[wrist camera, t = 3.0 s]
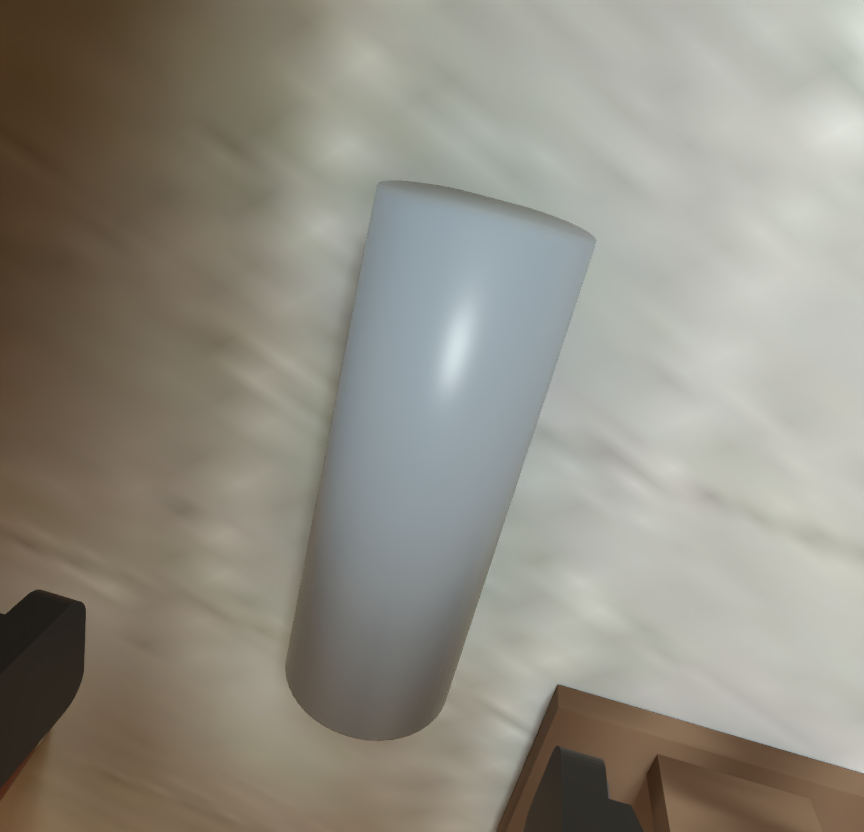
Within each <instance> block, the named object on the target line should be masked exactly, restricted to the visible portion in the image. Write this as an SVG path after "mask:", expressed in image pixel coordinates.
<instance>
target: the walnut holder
mask: <svg viewBox="0 0 864 832" xmlns="http://www.w3.org/2000/svg"><path fill="white" fill-rule="evenodd" d="M556 746H560V747H564V748H567V749H571V750H574V751H577V752H581V753H584V754H587V755H591V756H594V757H597V758H601V759H603V760H604V763H605V767H606V776H607V789H608V799H612V800H615V801H618V802H622V803H625V804H628V805H631V806H632V808H633V810H634V812H635V814H636V816H637V819H638V821H639V823H640V825H641V827H642V829H643V831H644V832H864V774H863V773H859V772H856V771H852V770H849V769H845V768H842V767H839V766H835V765H832V764H828V763H825V762H821V761H818V760H815V759H811V758H808V757H804V756H801V755H798V754H794V753H791V752H787V751H784V750H780V749H777V748H774V747H770V746H767V745H763V744H760V743H757V742H753V741H750V740H746V739H743V738H739V737H736V736H733V735H729V734H726V733H722V732H719V731H715V730H712V729H709V728H705V727H702V726H698V725H695V724H692V723H688V722H685V721H681V720H678V719H674V718H671V717H668V716H664V715H661V714H657V713H654V712H651V711H647V710H644V709H640V708H637V707H633V706H630V705H627V704H623V703H620V702H616V701H613V700H609V699H606V698H603V697H599V696H596V695H592V694H589V693H586V692H582V691H579V690H575V689H572V688H568V687H565V686H562V685H558V686H557V688H556V691H555V693H554V696H553V698H552V700H551V703H550V705H549V708H548V710H547V712H546V715H545V717H544V720H543V722H542V724H541V727H540V729H539V732H538V734H537V737H536V739H535V741H534V744H533V746H532V749H531V751H530V753H529V756H528V758H527V761H526V763H525V765H524V768H523V770H522V773H521V775H520V777H519V780H518V782H517V785H516V787H515V789H514V792H513V794H512V797H511V799H510V802H509V804H508V806H507V809H506V811H505V814H504V816H503V818H502V821H501V823H500V826H499V828H498V830H497V832H524V827H525V822H526V818H527V814H528V811H529V808H530V805H531V803H532V801H533V798H534V796H535V793H536V791H537V788H538V786H539V784H540V781H541V779H542V776H543V774H544V771H545V769H546V766H547V764H548V762H549V759H550V757H551V754H552V752H553V750H554V748H555V747H556Z"/></svg>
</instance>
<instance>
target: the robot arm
mask: <svg viewBox="0 0 864 832" xmlns="http://www.w3.org/2000/svg"><path fill="white" fill-rule="evenodd" d="M85 621H86V609H85V605H84V604H83V603H82V602H80V601H77V600H73V599H70V598H67V597H63V596H60V595H57V594H53V593H50V592H46V591H43V590H35V591H33V592H31V593H29V594H28V595H27V596H26V597H24V598H23V599H22V600H21V601H20V602H19V603H18V604H17V605H16V606H14V607H13V608H12V609H11V610H10V611H9V612H8V613H7V614H5V615H4V614H1V613H0V789H1V788H2V786H3V785H4V784H5V783H6V782H7V780H8V779H9V778H10V777H11V776H12V774H13V773H14V772H15V771H16V770H17V768H18V767H19V766H20V765H21V764H22V762H23V761H24V760H25V759H26V758H27V756H28V755H29V754H30V753H31V752H32V750H33V749H34V748H35V747H36V746H37V744H38V743H39V742H40V741H41V740H42V738H43V737H44V736H45V735H46V734H47V732H48V731H49V730H50V729H51V728H52V726H53V725H54V724H55V723H56V722H57V720H58V719H59V718H60V717H61V716H62V714H63V713H64V712H65V711H66V709H67V708H68V707H69V705H70V704H71V702H72V701H73V699H74V697H75V695H76V693H77V691H78V689H79V686H80V684H81V681H82V677H83V673H84V653H85ZM524 832H644V831H643V829H642V827H641V825H640V823H639V821H638V819H637V816H636V814H635V812H634V810H633V808H632V806H631V805H628V804H625V803H622V802H618V801H615V800H612V799H608V789H607V776H606V767H605V763H604V760H603V759H601V758H597V757H594V756H591V755H587V754H584V753H581V752H577V751H574V750H571V749H567V748H564V747H560V746H556V747H555V748H554V750H553V752H552V754H551V757H550V759H549V762H548V764H547V766H546V769H545V771H544V774H543V776H542V779H541V781H540V784H539V786H538V788H537V791H536V793H535V796H534V798H533V801H532V803H531V805H530V808H529V811H528V814H527V818H526V822H525V827H524Z"/></svg>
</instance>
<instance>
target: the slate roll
mask: <svg viewBox="0 0 864 832" xmlns="http://www.w3.org/2000/svg"><path fill="white" fill-rule="evenodd" d="M596 241H597V240H596V238H595V237H594V236H593V235H591V234H590V233H589V232H587V231H585V230H583V229H582V228H580V227H578V226H576V225H574V224H571V223H569V222H567V221H564V220H562V219H559V218H557V217H554V216H551V215H549V214H546V213H543V212H540V211H537V210H534V209H531V208H527V207H524V206H520V205H516V204H512V203H508V202H505V201H501V200H497V199H493V198H489V197H486V196H482V195H478V194H474V193H470V192H467V191H463V190H459V189H454V188H449V187H444V186H438V185H432V184H426V183H418V182H409V181H383V182H380V183H378V184H377V187H376V192H375V197H374V203H373V208H372V213H371V218H370V223H369V229H368V234H367V239H366V244H365V250H364V255H363V260H362V265H361V271H360V276H359V281H358V286H357V292H356V297H355V302H354V307H353V313H352V318H351V323H350V328H349V334H348V339H347V344H346V349H345V354H344V360H343V365H342V370H341V375H340V381H339V386H338V391H337V396H336V402H335V407H334V412H333V417H332V423H331V428H330V433H329V438H328V444H327V449H326V454H325V459H324V465H323V470H322V475H321V480H320V486H319V491H318V496H317V501H316V506H315V512H314V517H313V522H312V527H311V533H310V538H309V543H308V548H307V554H306V559H305V564H304V569H303V575H302V580H301V585H300V590H299V596H298V601H297V606H296V611H295V617H294V622H293V627H292V632H291V637H290V643H289V648H288V653H287V658H286V678H287V682H288V685H289V688H290V690H291V692H292V694H293V696H294V698H295V699H296V701H297V702H298V704H299V705H300V706H301V707H302V708H303V709H304V711H305V712H306V713H308V714H309V715H310V716H311V717H312V718H313V719H314V720H316V721H317V722H319V723H320V724H322V725H323V726H325V727H327V728H329V729H331V730H333V731H335V732H338V733H340V734H343V735H346V736H349V737H353V738H357V739H364V740H376V741H381V740H393V739H398V738H402V737H405V736H408V735H411V734H414V733H416V732H418V731H420V730H421V729H423V728H424V727H426V726H427V725H429V724H430V723H431V722H432V721H433V720H434V719H435V718H436V717H437V716H438V714H439V713H440V712H441V710H442V708H443V706H444V704H445V701H446V698H447V695H448V692H449V689H450V686H451V683H452V680H453V677H454V674H455V671H456V668H457V665H458V662H459V658H460V655H461V652H462V649H463V646H464V643H465V640H466V637H467V634H468V631H469V628H470V625H471V622H472V619H473V616H474V613H475V610H476V607H477V604H478V601H479V598H480V595H481V591H482V588H483V585H484V582H485V579H486V576H487V573H488V570H489V567H490V564H491V561H492V558H493V555H494V552H495V549H496V546H497V543H498V540H499V537H500V534H501V531H502V527H503V524H504V521H505V518H506V515H507V512H508V509H509V506H510V503H511V500H512V497H513V494H514V491H515V488H516V485H517V482H518V479H519V476H520V473H521V470H522V467H523V463H524V460H525V457H526V454H527V451H528V448H529V445H530V442H531V439H532V436H533V433H534V430H535V427H536V424H537V421H538V418H539V415H540V412H541V409H542V406H543V403H544V400H545V396H546V393H547V390H548V387H549V384H550V381H551V378H552V375H553V372H554V369H555V366H556V363H557V360H558V357H559V354H560V351H561V348H562V345H563V342H564V339H565V336H566V332H567V329H568V326H569V323H570V320H571V317H572V314H573V311H574V308H575V305H576V302H577V299H578V296H579V293H580V290H581V287H582V284H583V281H584V278H585V275H586V272H587V269H588V265H589V262H590V259H591V256H592V253H593V250H594V247H595V244H596Z"/></svg>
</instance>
